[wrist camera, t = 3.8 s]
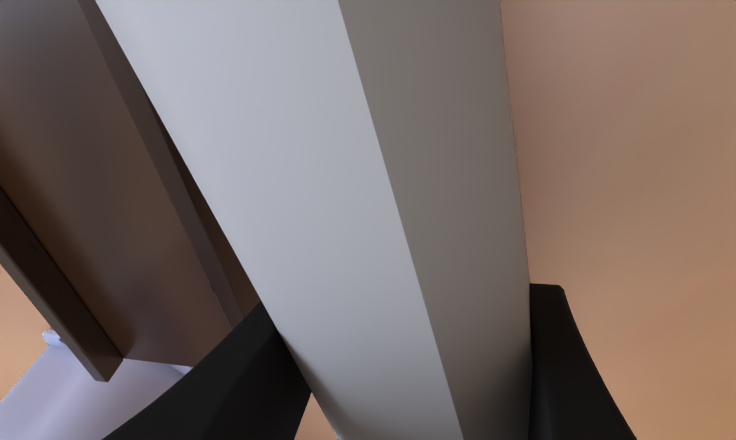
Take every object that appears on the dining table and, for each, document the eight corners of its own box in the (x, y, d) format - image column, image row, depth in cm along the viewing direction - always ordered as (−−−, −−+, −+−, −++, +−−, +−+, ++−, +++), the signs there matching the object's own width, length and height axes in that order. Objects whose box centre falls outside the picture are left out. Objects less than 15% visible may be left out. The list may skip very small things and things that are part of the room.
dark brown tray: (159, 290, 25) (94, 381, 21) (-299, -520, 10) (-795, -712, 6) (322, 304, 23) (282, 408, 19) (40, -699, 8) (-398, -1155, 4)
